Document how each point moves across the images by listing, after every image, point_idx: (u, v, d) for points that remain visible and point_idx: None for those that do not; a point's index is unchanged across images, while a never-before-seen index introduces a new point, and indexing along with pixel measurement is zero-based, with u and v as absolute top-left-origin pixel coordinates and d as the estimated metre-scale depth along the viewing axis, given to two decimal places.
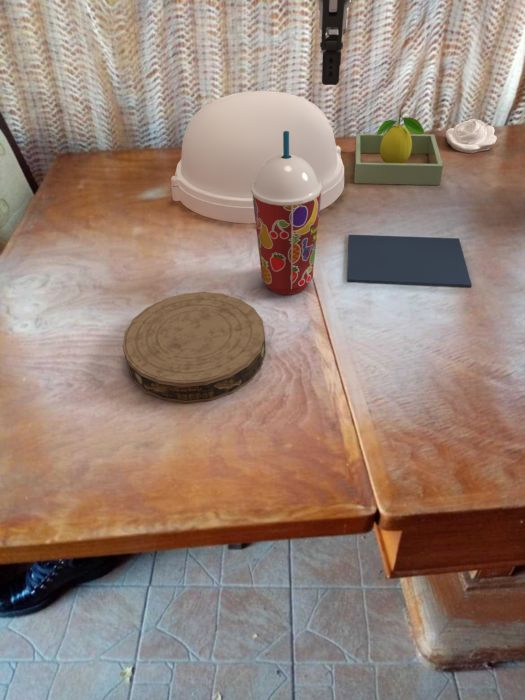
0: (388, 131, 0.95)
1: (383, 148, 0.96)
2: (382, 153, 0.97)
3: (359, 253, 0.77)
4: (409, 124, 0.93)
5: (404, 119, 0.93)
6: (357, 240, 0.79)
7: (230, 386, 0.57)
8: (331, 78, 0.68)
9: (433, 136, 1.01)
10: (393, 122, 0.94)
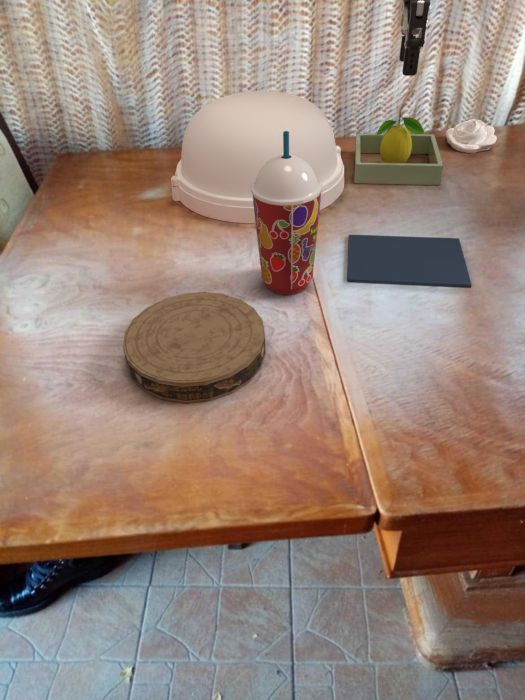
0: (388, 131, 0.95)
1: (383, 148, 0.96)
2: (382, 153, 0.97)
3: (359, 253, 0.77)
4: (409, 124, 0.93)
5: (404, 119, 0.93)
6: (357, 240, 0.79)
7: (230, 386, 0.57)
8: (411, 70, 0.84)
9: (433, 136, 1.01)
10: (393, 122, 0.94)
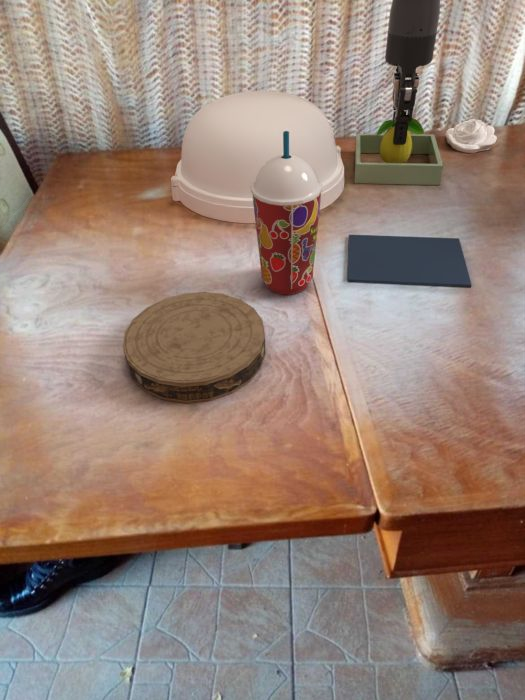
0: (388, 131, 0.95)
1: (383, 148, 0.96)
2: (382, 153, 0.97)
3: (359, 253, 0.77)
4: (409, 124, 0.93)
5: None
6: (357, 240, 0.79)
7: (230, 386, 0.57)
8: (400, 140, 0.92)
9: (433, 136, 1.01)
10: (393, 122, 0.94)
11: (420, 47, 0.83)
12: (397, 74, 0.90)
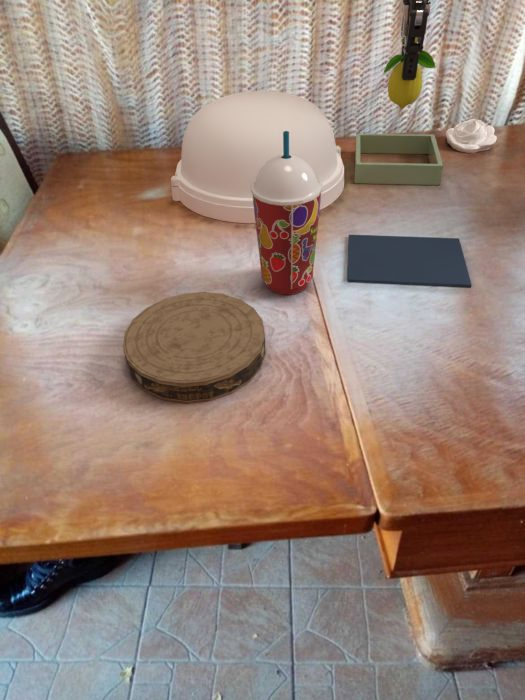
0: (396, 67, 0.88)
1: (391, 85, 0.89)
2: (390, 92, 0.90)
3: (359, 253, 0.77)
4: (419, 57, 0.86)
5: None
6: (357, 240, 0.79)
7: (230, 386, 0.57)
8: (410, 74, 0.85)
9: (433, 136, 1.01)
10: (402, 57, 0.88)
11: None
12: (406, 1, 0.83)
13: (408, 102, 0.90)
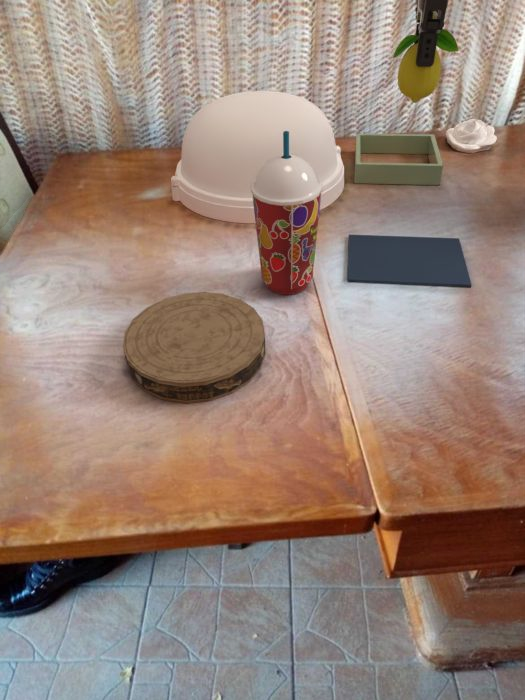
0: (409, 50, 0.70)
1: (402, 73, 0.71)
2: (400, 81, 0.72)
3: (359, 253, 0.77)
4: (438, 38, 0.68)
5: None
6: (357, 240, 0.79)
7: (230, 386, 0.57)
8: (426, 59, 0.68)
9: (433, 136, 1.01)
10: (416, 37, 0.70)
11: None
12: None
13: (423, 95, 0.72)
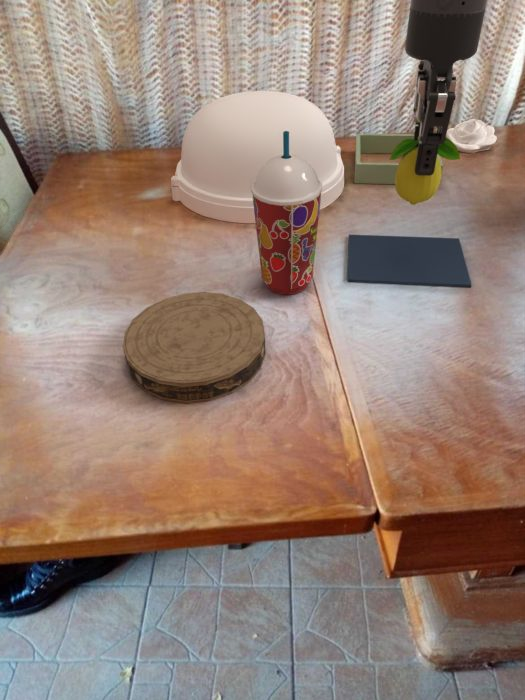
0: (407, 155, 0.66)
1: (400, 179, 0.67)
2: (398, 186, 0.67)
3: (359, 253, 0.77)
4: None
5: None
6: (357, 240, 0.79)
7: (230, 386, 0.57)
8: (426, 169, 0.63)
9: None
10: (414, 142, 0.65)
11: (461, 31, 0.54)
12: (422, 73, 0.61)
13: (422, 200, 0.67)
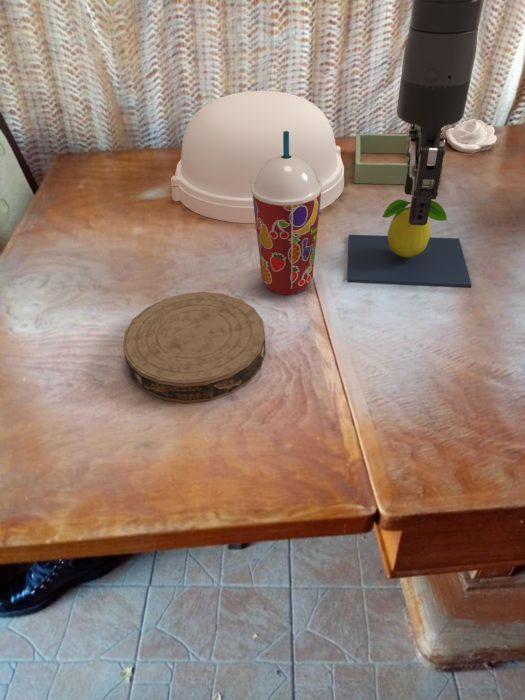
0: (399, 215, 0.71)
1: (392, 236, 0.72)
2: (390, 242, 0.73)
3: (359, 253, 0.77)
4: None
5: None
6: (357, 240, 0.79)
7: (230, 386, 0.57)
8: (420, 220, 0.66)
9: None
10: (405, 203, 0.71)
11: (448, 100, 0.58)
12: (413, 132, 0.65)
13: (413, 255, 0.73)
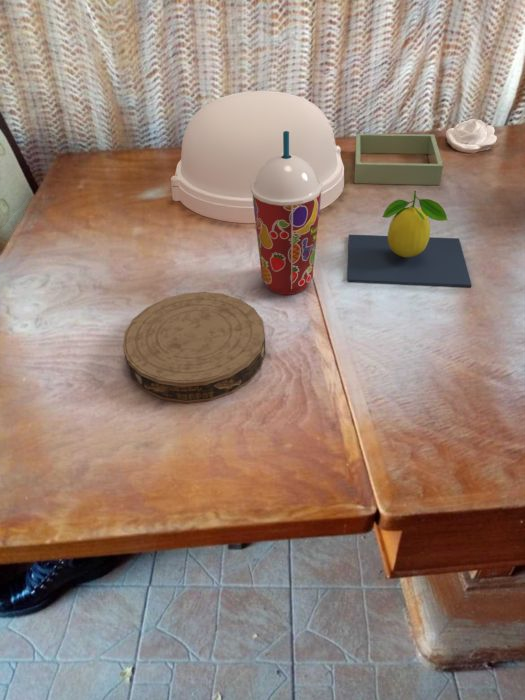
0: (399, 215, 0.71)
1: (392, 236, 0.72)
2: (390, 242, 0.73)
3: (359, 253, 0.77)
4: (427, 207, 0.69)
5: (420, 201, 0.69)
6: (357, 240, 0.79)
7: (230, 386, 0.57)
8: None
9: (433, 136, 1.01)
10: (405, 203, 0.71)
11: None
12: None
13: (413, 255, 0.73)
